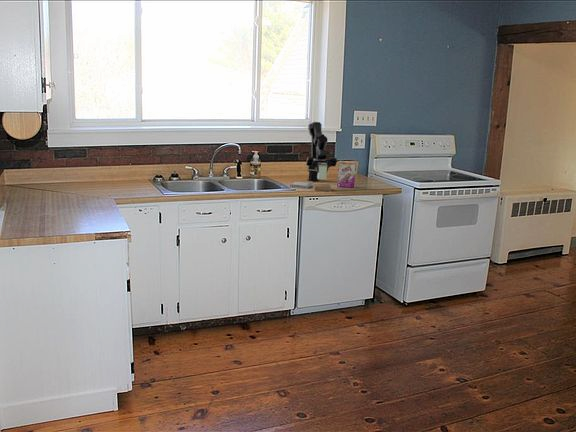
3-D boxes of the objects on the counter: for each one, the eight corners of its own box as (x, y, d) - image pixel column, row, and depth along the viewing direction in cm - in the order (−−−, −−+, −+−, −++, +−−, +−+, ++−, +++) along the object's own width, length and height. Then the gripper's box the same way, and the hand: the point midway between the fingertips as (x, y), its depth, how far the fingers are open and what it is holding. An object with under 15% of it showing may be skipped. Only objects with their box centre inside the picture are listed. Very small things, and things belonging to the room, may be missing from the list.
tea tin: (317, 178, 367) (318, 163, 365) (325, 178, 367) (326, 164, 365) (318, 179, 362) (319, 164, 360) (326, 179, 363) (327, 165, 361)
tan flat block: (312, 188, 368) (312, 183, 368) (328, 188, 369) (328, 183, 369) (314, 190, 360) (314, 185, 360) (330, 190, 362) (330, 186, 361)
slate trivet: (295, 183, 382) (296, 181, 381) (313, 185, 378) (313, 183, 378) (290, 186, 370) (290, 184, 370) (308, 188, 367) (308, 186, 366)
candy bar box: (336, 186, 378) (338, 161, 374) (337, 185, 382) (338, 160, 379) (354, 187, 377) (356, 162, 373) (354, 186, 381) (356, 161, 378)
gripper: (307, 144, 363) (309, 164, 355) (337, 145, 365) (339, 165, 357) (305, 155, 372) (307, 175, 364) (334, 156, 374) (336, 175, 366)
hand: (322, 172), depth 363 cm, fingers closed on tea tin, 5 cm apart
